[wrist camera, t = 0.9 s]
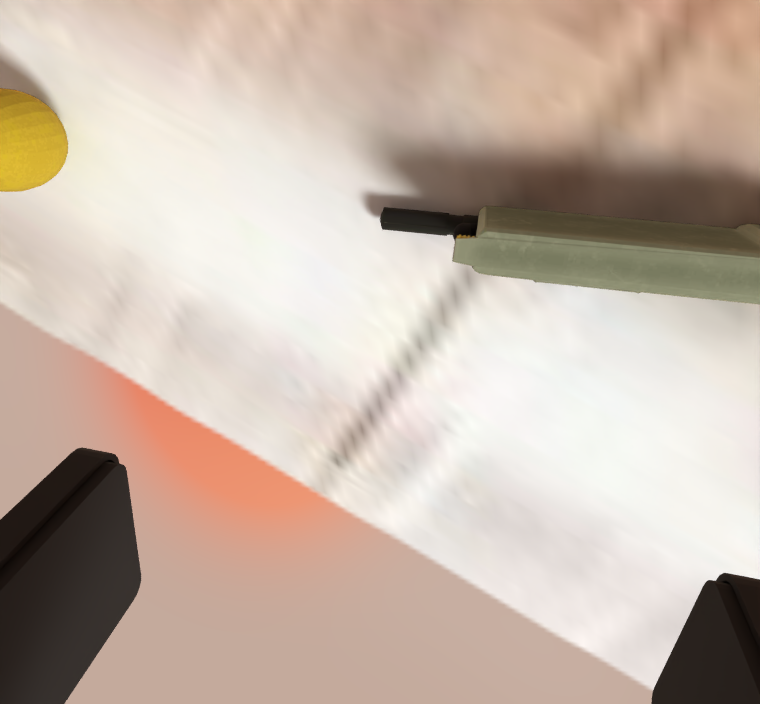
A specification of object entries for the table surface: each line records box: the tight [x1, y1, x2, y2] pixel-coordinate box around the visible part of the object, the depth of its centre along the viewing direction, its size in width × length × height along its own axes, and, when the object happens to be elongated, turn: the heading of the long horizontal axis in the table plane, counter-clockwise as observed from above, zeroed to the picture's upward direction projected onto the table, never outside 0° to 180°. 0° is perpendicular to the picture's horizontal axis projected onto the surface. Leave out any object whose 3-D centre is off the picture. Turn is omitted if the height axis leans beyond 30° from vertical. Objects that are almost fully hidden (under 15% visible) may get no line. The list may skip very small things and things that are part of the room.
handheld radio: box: [380, 206, 760, 304], centre depth 32 cm, size 7×3×25 cm
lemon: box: [0, 88, 68, 192], centre depth 34 cm, size 6×6×8 cm
